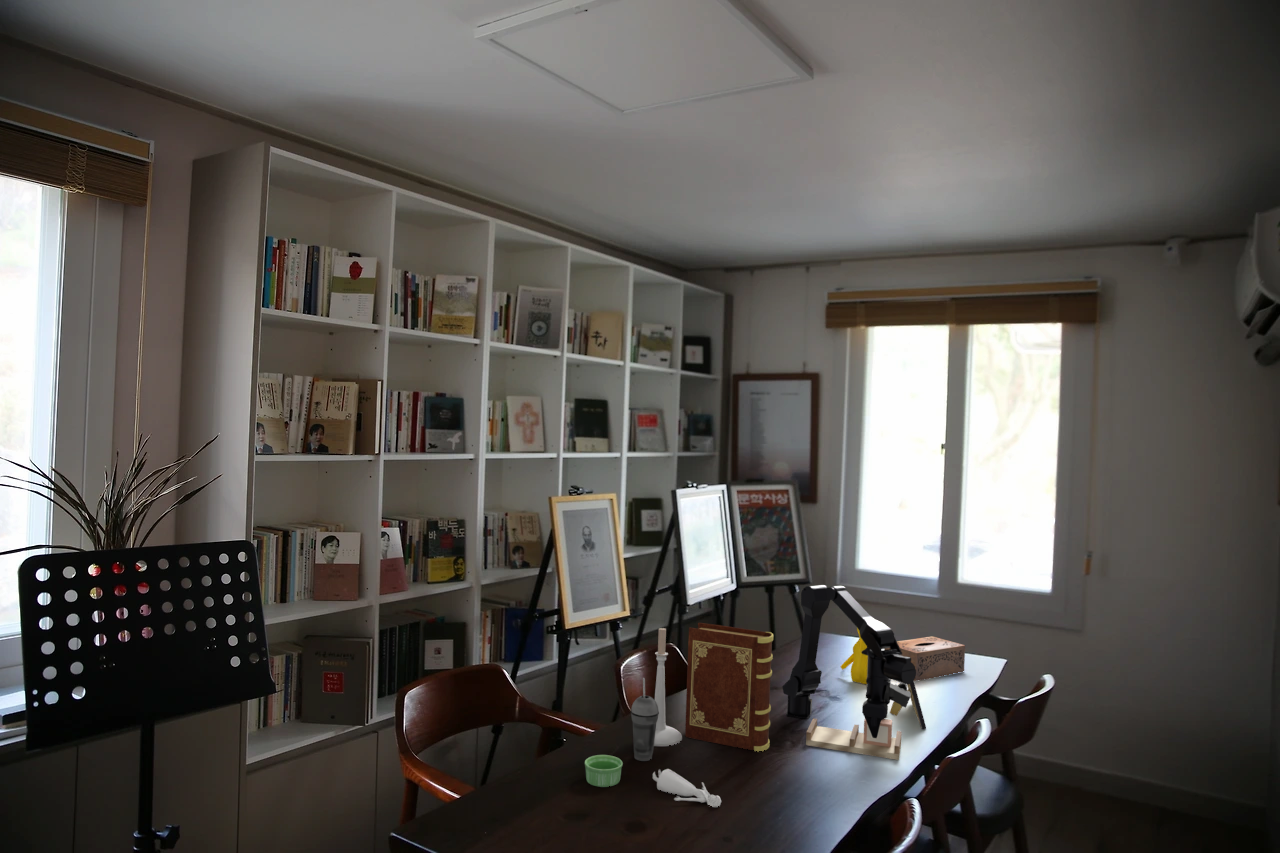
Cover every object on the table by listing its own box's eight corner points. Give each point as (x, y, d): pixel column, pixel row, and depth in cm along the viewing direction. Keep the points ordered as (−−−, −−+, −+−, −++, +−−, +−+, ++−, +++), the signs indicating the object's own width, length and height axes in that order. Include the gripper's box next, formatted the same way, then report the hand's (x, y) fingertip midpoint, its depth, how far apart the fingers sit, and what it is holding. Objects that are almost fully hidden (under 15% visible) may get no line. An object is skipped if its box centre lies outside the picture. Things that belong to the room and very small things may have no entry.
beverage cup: (637, 764, 209) (639, 684, 209) (624, 754, 215) (626, 676, 215) (662, 760, 212) (665, 681, 212) (649, 750, 218) (651, 673, 219)
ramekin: (585, 771, 204) (586, 753, 204) (622, 773, 203) (623, 755, 203) (582, 787, 195) (582, 768, 195) (620, 789, 194) (621, 770, 194)
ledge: (806, 745, 226) (806, 732, 226) (812, 730, 238) (813, 718, 238) (898, 760, 218) (899, 746, 218) (901, 744, 229) (901, 731, 229)
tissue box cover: (915, 681, 290) (916, 652, 290) (883, 671, 302) (884, 643, 303) (964, 673, 304) (965, 645, 304) (931, 662, 316) (932, 636, 316)
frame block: (863, 743, 225) (864, 720, 225) (864, 738, 229) (865, 716, 229) (890, 747, 223) (891, 724, 223) (891, 742, 226) (892, 719, 227)
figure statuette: (892, 685, 284) (895, 620, 285) (885, 690, 278) (888, 624, 278) (842, 675, 294) (844, 612, 294) (834, 680, 288) (836, 616, 288)
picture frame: (926, 729, 241) (922, 677, 242) (894, 729, 243) (889, 678, 244) (916, 704, 264) (912, 656, 264) (887, 705, 266) (883, 657, 266)
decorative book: (772, 743, 226) (776, 632, 227) (764, 753, 219) (768, 638, 219) (695, 728, 236) (698, 621, 236) (684, 737, 229) (688, 627, 229)
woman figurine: (671, 758, 202) (734, 785, 191) (669, 777, 202) (733, 804, 191) (641, 773, 193) (707, 802, 182) (639, 792, 193) (705, 822, 182)
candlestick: (666, 750, 219) (671, 635, 219) (625, 739, 226) (629, 627, 226) (690, 735, 230) (694, 626, 230) (650, 725, 237) (654, 619, 237)
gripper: (908, 688, 214) (905, 749, 214) (910, 669, 232) (908, 725, 232) (863, 682, 218) (861, 742, 218) (869, 664, 236) (867, 719, 236)
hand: (876, 732), depth 226 cm, fingers open, 9 cm apart
